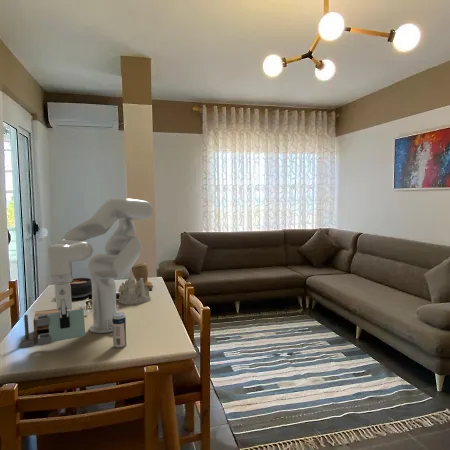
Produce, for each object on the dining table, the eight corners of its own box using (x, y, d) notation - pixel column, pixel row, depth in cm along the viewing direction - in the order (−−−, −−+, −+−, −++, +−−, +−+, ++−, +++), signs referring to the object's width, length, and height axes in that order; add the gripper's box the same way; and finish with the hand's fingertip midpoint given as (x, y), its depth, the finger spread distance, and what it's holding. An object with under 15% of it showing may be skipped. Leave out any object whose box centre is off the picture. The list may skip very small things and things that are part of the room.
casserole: (65, 290, 213) (64, 276, 212) (98, 288, 217) (97, 275, 217) (55, 302, 189) (55, 287, 188) (93, 300, 193) (92, 284, 192)
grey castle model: (153, 301, 189) (150, 273, 188) (121, 307, 182) (118, 277, 181) (146, 296, 203) (144, 269, 202) (116, 301, 196) (114, 273, 195)
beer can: (129, 345, 133) (128, 313, 132) (117, 349, 130) (116, 317, 129) (122, 342, 136) (121, 311, 135) (110, 346, 133) (109, 314, 132)
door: (39, 341, 131) (36, 315, 130) (85, 333, 137) (83, 307, 136) (38, 345, 127) (35, 318, 126) (85, 336, 134) (83, 311, 132)
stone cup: (131, 285, 223) (131, 262, 222) (151, 284, 226) (150, 260, 225) (132, 292, 208) (132, 266, 207) (153, 290, 212) (152, 265, 211)
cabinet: (25, 331, 148) (23, 304, 147) (65, 325, 154) (64, 299, 153) (20, 347, 132) (18, 317, 131) (66, 340, 139) (64, 311, 138)
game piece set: (102, 312, 173) (102, 304, 172) (61, 324, 157) (61, 315, 157) (81, 305, 185) (81, 297, 185) (41, 315, 170) (41, 307, 169)
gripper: (73, 281, 125) (76, 332, 127) (72, 272, 139) (75, 317, 141) (49, 284, 122) (53, 336, 124) (50, 274, 136) (54, 321, 138)
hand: (65, 326), depth 132 cm, fingers closed on door, 2 cm apart
